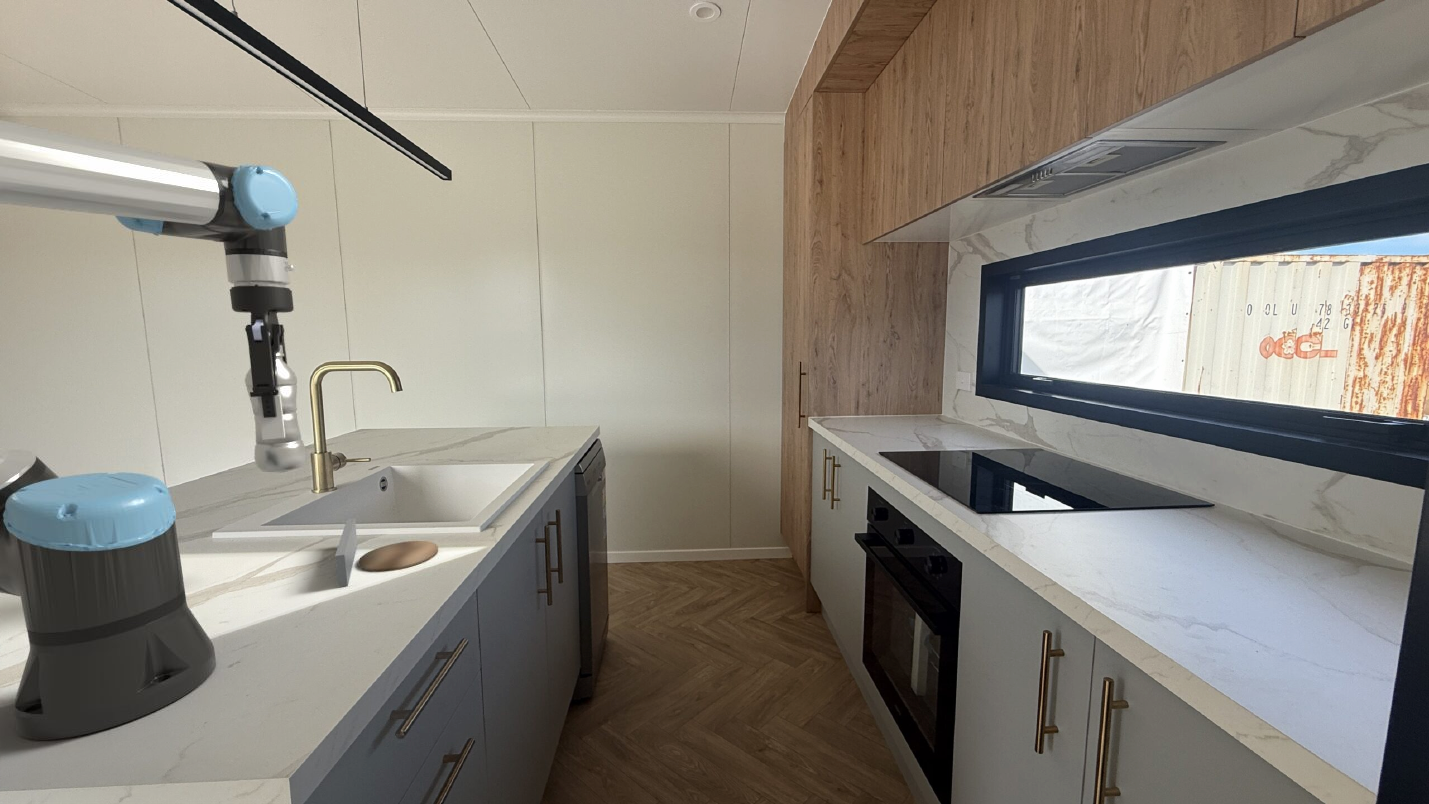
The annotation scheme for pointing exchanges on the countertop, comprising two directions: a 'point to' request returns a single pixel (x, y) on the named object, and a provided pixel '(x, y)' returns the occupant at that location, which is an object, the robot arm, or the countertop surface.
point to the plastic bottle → (291, 448)
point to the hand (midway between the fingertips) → (278, 434)
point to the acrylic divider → (346, 553)
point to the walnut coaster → (398, 556)
